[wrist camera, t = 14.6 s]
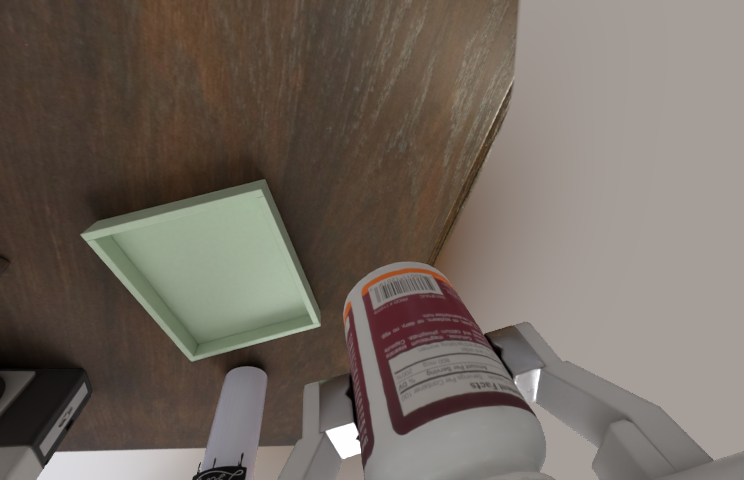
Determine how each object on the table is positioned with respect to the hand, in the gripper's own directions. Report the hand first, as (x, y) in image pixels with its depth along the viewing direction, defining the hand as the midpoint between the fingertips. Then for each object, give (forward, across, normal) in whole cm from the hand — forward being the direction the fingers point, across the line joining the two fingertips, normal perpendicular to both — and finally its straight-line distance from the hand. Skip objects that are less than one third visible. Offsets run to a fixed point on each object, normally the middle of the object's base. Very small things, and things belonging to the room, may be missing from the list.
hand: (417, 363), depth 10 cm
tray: (+18, +13, +5) cm, 23 cm away
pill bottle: (+3, 0, 0) cm, 3 cm away
